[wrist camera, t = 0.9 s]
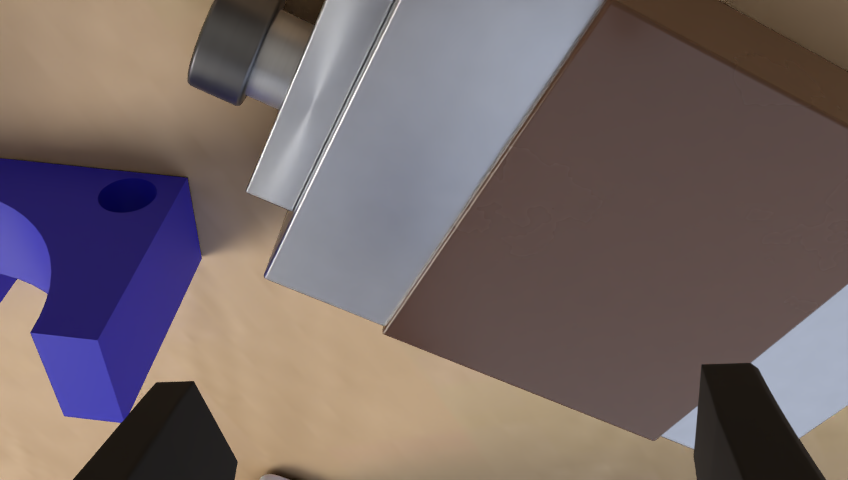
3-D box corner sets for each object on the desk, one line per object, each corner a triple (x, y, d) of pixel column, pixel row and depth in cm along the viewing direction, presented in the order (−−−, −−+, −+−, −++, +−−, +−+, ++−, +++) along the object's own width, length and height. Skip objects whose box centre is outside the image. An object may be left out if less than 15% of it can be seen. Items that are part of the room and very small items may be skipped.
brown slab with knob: (727, 389, 25) (750, 480, 23) (179, 157, 21) (132, 236, 19) (1013, 161, 19) (1087, 253, 16) (305, -229, 15) (260, -188, 12)
